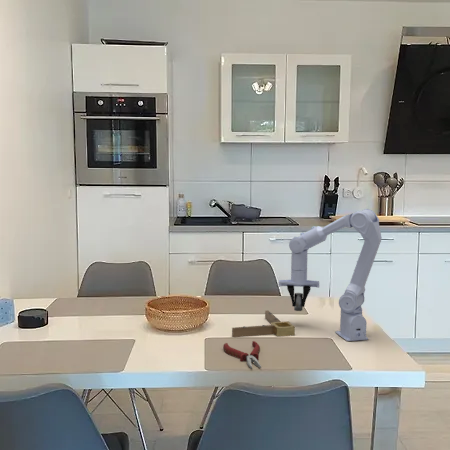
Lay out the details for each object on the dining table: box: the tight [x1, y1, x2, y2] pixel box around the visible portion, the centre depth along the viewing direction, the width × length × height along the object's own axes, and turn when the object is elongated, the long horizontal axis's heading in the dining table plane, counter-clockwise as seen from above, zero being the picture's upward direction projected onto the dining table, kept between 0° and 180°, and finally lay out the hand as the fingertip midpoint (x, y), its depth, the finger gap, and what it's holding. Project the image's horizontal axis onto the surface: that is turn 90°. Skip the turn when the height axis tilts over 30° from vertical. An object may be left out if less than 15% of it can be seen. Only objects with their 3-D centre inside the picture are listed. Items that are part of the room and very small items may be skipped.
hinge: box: [231, 310, 296, 338], centre depth 195 cm, size 22×22×3 cm
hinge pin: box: [293, 292, 304, 312], centre depth 197 cm, size 3×3×6 cm
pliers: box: [222, 340, 262, 370], centre depth 166 cm, size 12×20×3 cm, turn 13°
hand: (298, 305), depth 197 cm, fingers closed on hinge pin, 3 cm apart
